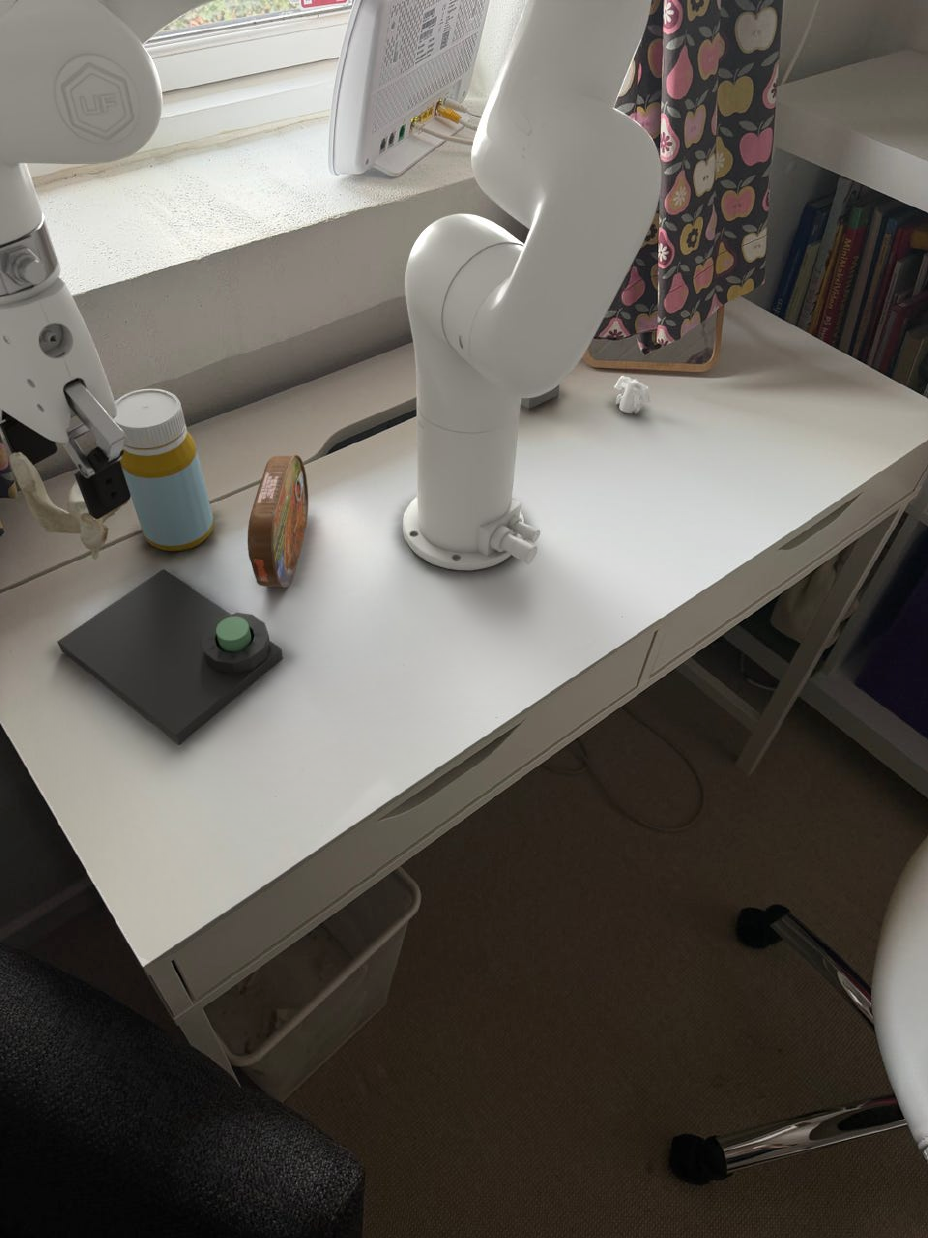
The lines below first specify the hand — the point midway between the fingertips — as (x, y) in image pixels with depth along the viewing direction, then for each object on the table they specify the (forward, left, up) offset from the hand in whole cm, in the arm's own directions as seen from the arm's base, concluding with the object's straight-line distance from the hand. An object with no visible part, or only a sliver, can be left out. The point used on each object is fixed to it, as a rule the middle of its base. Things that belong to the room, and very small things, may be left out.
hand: (73, 482), depth 65 cm
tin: (-1, -18, -20) cm, 26 cm away
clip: (-15, -62, -20) cm, 66 cm away
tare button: (-8, -5, -17) cm, 19 cm away
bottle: (+9, -13, -20) cm, 25 cm away
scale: (-3, -2, -19) cm, 20 cm away
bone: (0, 0, -5) cm, 5 cm away
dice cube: (-4, -57, -20) cm, 60 cm away
